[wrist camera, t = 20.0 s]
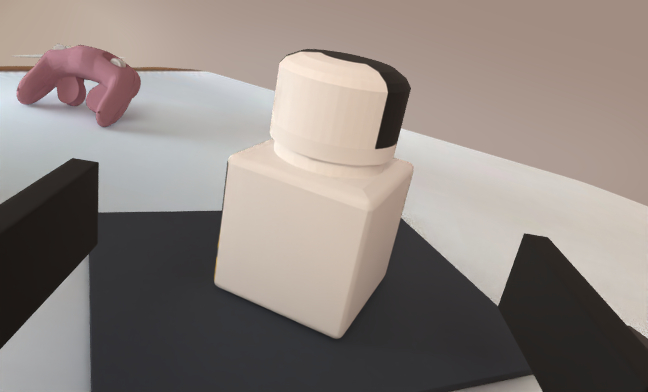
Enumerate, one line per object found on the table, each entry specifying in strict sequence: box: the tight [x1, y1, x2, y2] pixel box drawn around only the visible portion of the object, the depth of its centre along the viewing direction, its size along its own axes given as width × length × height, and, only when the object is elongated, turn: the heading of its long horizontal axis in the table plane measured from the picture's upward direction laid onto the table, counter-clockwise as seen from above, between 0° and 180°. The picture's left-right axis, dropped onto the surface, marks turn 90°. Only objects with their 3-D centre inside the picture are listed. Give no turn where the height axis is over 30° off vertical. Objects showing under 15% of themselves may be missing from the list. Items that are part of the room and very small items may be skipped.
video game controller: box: [17, 44, 141, 127], centre depth 47 cm, size 10×5×7 cm, turn 74°
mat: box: [89, 211, 533, 392], centre depth 28 cm, size 17×21×1 cm
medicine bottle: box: [214, 49, 413, 339], centre depth 25 cm, size 7×7×12 cm
